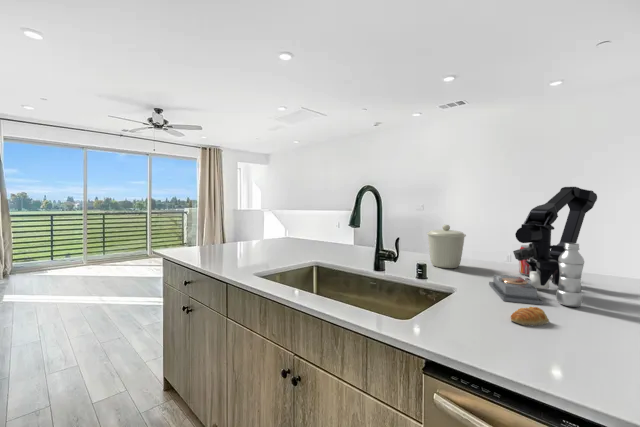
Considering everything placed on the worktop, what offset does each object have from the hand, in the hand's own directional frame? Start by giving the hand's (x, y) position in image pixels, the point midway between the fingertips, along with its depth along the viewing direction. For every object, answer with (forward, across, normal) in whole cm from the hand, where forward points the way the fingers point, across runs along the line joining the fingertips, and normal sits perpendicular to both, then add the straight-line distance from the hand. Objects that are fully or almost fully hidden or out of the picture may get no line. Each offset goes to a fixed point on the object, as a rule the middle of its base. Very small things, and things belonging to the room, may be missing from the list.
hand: (539, 283), depth 111 cm
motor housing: (+2, +9, -11) cm, 14 cm away
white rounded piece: (+1, 0, 0) cm, 1 cm away
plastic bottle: (+3, +17, +2) cm, 17 cm away
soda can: (+3, -24, +4) cm, 24 cm away
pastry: (+3, +35, -14) cm, 38 cm away
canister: (+3, -30, -30) cm, 43 cm away
